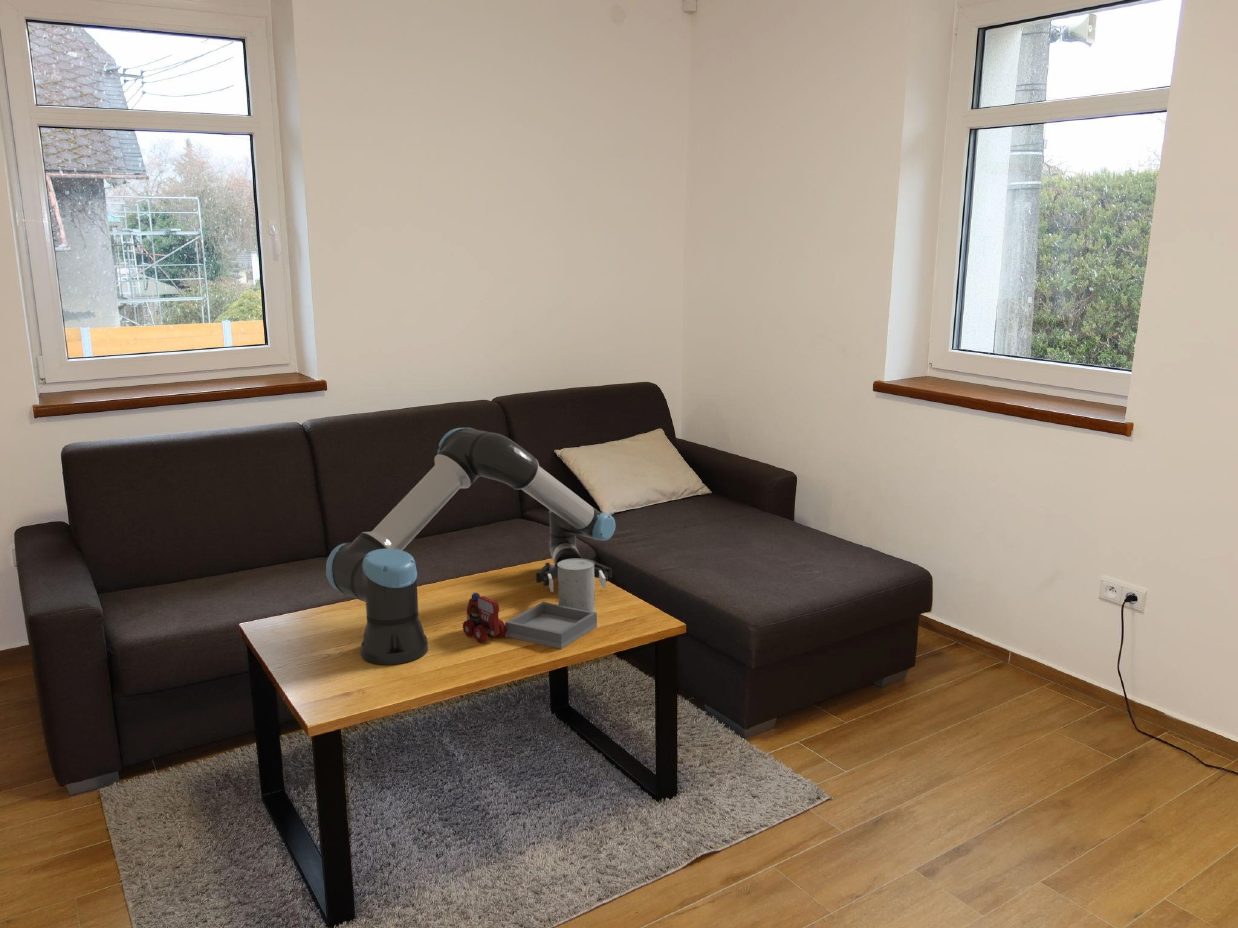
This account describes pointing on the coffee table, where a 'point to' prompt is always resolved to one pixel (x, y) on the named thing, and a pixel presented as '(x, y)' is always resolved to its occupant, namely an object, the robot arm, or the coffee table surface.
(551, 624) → the tray
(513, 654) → the coffee table surface
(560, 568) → the grey speckled cylinder
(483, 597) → the toy fire truck
